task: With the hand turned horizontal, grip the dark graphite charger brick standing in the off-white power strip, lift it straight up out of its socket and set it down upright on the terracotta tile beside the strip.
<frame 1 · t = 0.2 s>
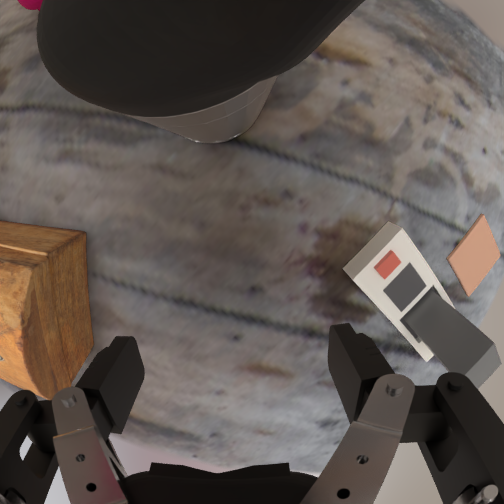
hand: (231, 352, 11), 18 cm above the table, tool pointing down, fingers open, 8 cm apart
power strip: (407, 294, 31), on the table
tile coaster: (475, 256, 30), on the table
wooden box: (4, 269, 28), on the table
charger: (422, 312, 29), point 2 cm above the table, touching power strip
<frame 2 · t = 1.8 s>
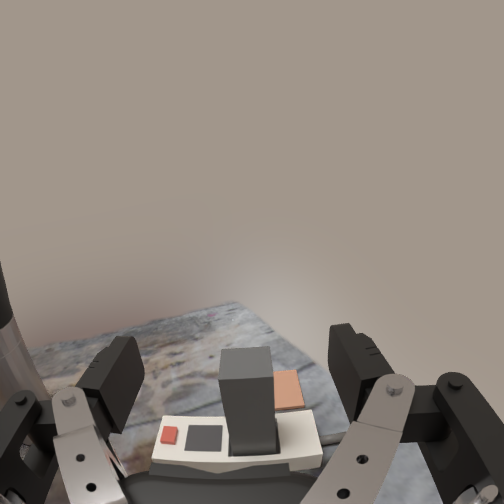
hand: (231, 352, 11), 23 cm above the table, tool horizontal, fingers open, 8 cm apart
power strip: (238, 451, 28), on the table
tile coaster: (272, 391, 39), on the table
charger: (254, 441, 28), point 2 cm above the table, touching power strip
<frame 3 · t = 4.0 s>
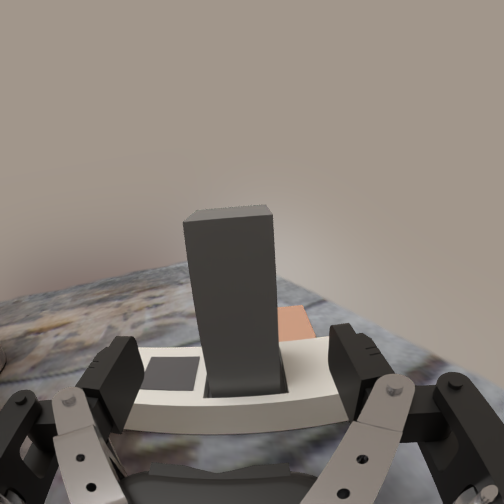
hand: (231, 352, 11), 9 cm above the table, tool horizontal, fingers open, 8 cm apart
power strip: (222, 401, 20), on the table
tile coaster: (272, 328, 31), on the table
charger: (246, 380, 20), point 2 cm above the table, touching power strip
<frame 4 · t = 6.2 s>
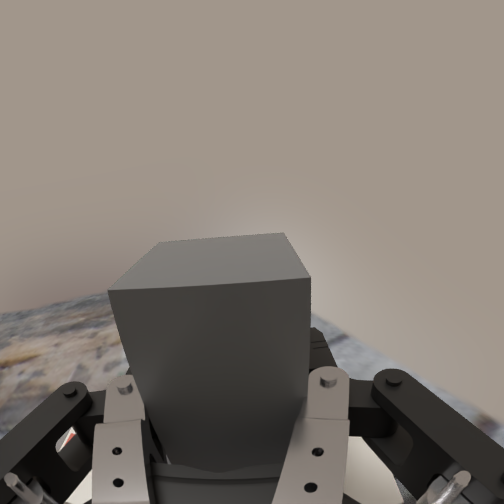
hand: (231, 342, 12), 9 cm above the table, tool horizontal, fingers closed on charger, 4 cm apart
power strip: (215, 496, 12), on the table
charger: (247, 481, 11), point 2 cm above the table, touching gripper, power strip
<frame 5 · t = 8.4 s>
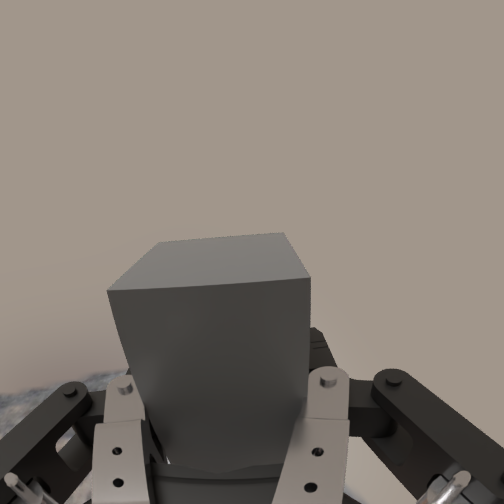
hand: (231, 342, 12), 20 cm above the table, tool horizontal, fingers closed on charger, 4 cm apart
charger: (247, 481, 11), point 13 cm above the table, touching gripper
when the fingers open (9 cm above the table, at t = 10.8 s): charger drops 1 cm, resting on tile coaster.
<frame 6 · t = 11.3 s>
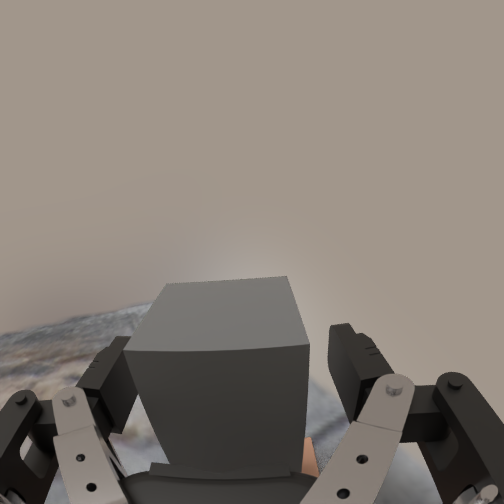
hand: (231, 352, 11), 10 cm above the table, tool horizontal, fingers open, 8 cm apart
tile coaster: (249, 496, 12), on the table
charger: (250, 493, 12), resting on tile coaster
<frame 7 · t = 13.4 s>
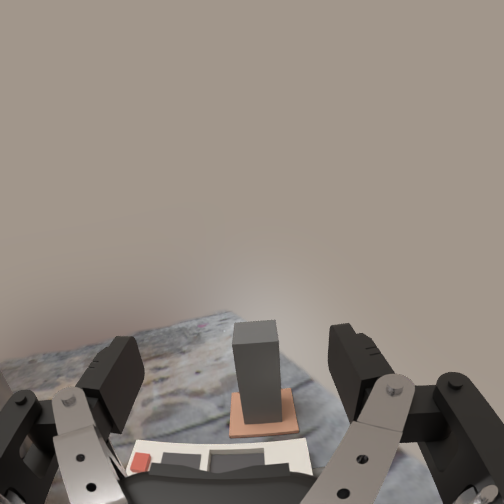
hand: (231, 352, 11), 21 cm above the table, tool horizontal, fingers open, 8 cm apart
power strip: (219, 483, 23), on the table
tile coaster: (262, 413, 33), on the table
charger: (262, 411, 33), resting on tile coaster
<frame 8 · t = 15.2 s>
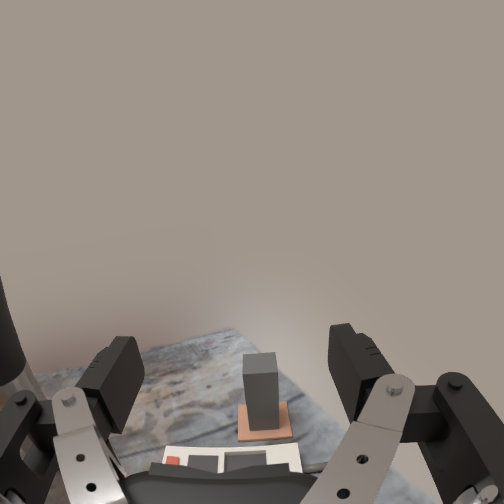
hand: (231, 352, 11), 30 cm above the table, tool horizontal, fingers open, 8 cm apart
power strip: (232, 477, 30), on the table
tile coaster: (263, 421, 41), on the table
charger: (263, 420, 41), resting on tile coaster
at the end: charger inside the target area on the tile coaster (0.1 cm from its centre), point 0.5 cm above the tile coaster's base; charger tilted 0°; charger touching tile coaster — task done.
